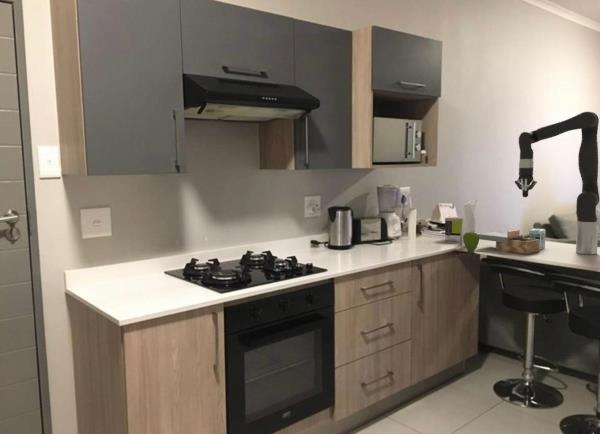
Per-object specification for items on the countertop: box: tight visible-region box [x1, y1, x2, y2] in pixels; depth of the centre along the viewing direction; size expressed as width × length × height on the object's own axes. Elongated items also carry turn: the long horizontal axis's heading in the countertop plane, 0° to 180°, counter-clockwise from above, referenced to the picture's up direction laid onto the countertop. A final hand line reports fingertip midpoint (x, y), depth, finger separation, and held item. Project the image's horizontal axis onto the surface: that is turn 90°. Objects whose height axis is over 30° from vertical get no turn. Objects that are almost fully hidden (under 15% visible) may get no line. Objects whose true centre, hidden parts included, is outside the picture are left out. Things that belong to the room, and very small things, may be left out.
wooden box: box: [495, 237, 540, 256], centre depth 281 cm, size 18×13×7 cm
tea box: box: [444, 216, 463, 242], centre depth 323 cm, size 15×10×15 cm
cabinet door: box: [477, 229, 524, 243], centre depth 289 cm, size 19×15×6 cm
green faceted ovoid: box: [463, 232, 480, 253], centre depth 282 cm, size 9×8×12 cm
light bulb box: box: [528, 228, 547, 251], centre depth 291 cm, size 11×7×11 cm, turn 143°
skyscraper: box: [459, 199, 478, 248], centre depth 299 cm, size 8×8×28 cm
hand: (525, 197), depth 293 cm, fingers closed
